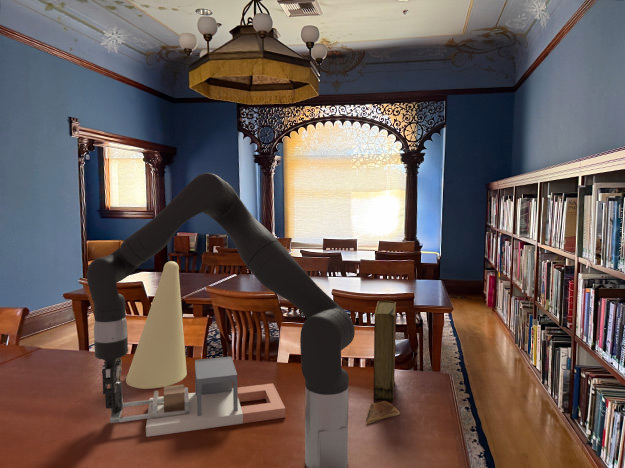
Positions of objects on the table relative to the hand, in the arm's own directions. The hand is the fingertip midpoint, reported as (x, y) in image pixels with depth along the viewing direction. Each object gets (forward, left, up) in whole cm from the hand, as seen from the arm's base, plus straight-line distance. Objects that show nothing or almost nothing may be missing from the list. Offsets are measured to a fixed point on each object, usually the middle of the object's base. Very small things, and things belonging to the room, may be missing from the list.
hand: (113, 400), depth 113 cm
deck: (0, -25, -7) cm, 26 cm away
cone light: (+32, -10, -7) cm, 34 cm away
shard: (-14, -67, -7) cm, 69 cm away
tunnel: (+1, -25, -4) cm, 25 cm away
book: (0, -74, -7) cm, 74 cm away
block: (0, -15, -4) cm, 15 cm away
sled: (0, -9, -4) cm, 9 cm away
